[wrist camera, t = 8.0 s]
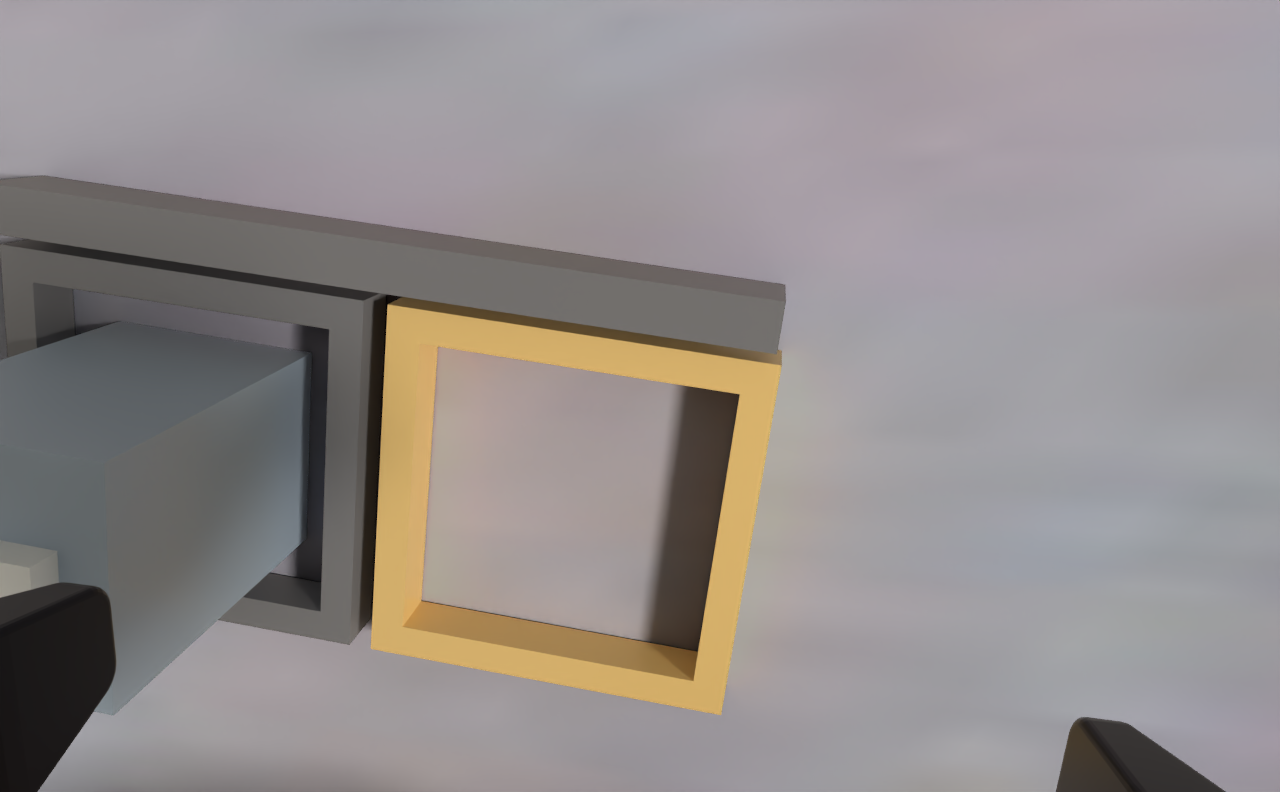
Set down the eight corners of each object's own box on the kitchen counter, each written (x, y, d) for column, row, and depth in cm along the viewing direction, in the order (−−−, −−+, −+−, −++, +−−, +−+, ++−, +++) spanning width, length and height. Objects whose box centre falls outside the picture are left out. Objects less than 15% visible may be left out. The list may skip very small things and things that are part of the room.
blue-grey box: (306, 538, 23) (89, 737, 16) (125, 505, 23) (-168, 685, 16) (312, 353, 22) (77, 476, 14) (119, 321, 22) (-203, 426, 15)
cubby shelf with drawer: (723, 683, 22) (718, 732, 21) (59, 560, 24) (3, 595, 22) (792, 285, 20) (794, 302, 18) (37, 174, 21) (-28, 180, 19)
